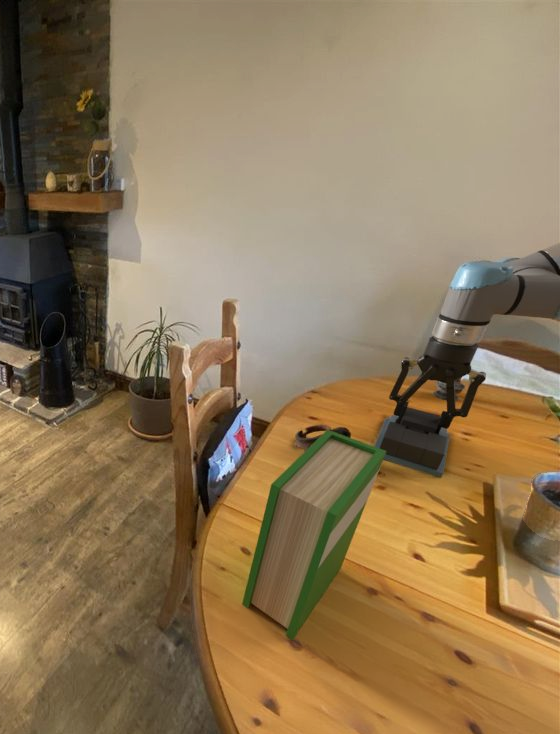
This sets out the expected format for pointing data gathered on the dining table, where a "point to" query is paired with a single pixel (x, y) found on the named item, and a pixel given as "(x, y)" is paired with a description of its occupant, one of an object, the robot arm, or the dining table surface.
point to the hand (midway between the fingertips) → (414, 432)
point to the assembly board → (413, 447)
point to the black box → (420, 421)
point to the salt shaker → (442, 389)
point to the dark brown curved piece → (306, 442)
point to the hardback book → (310, 527)
